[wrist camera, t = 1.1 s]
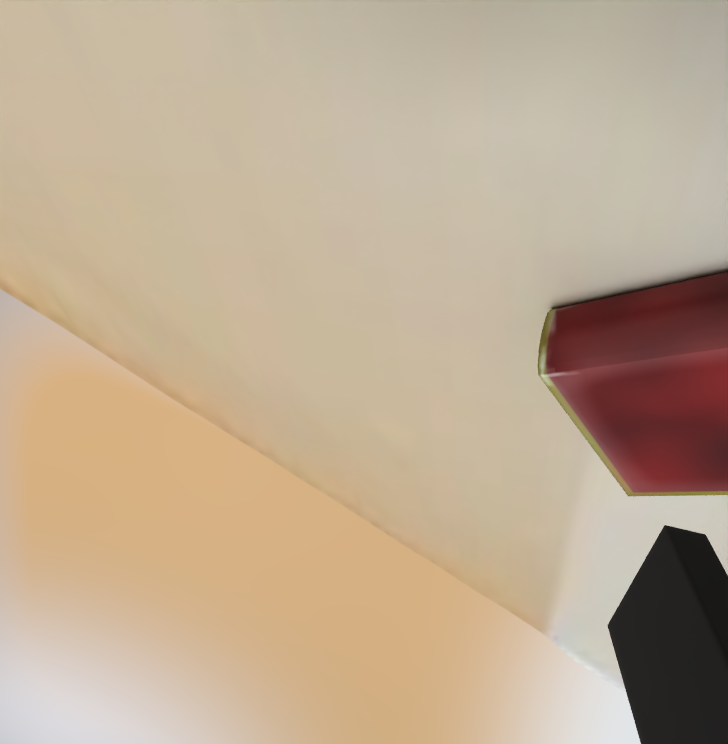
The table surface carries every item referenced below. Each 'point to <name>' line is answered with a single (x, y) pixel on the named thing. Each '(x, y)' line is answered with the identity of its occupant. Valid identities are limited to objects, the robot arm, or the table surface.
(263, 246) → the table surface
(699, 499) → the table surface
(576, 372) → the hardcover book
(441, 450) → the table surface
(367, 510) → the table surface
